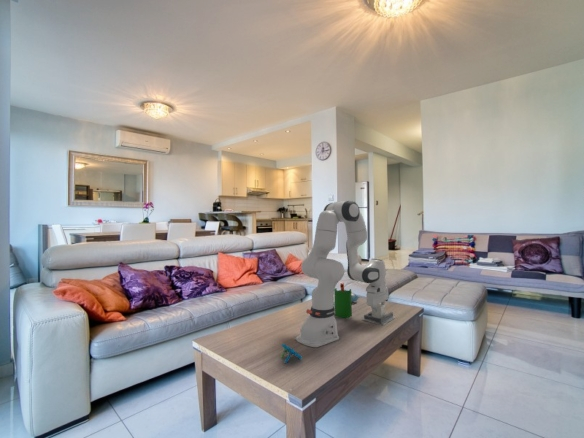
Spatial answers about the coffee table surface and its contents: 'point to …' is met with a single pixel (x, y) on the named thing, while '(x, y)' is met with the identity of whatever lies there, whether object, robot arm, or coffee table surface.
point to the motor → (343, 302)
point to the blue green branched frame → (289, 353)
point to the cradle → (379, 321)
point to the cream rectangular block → (379, 311)
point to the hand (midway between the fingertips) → (378, 310)
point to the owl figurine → (353, 297)
